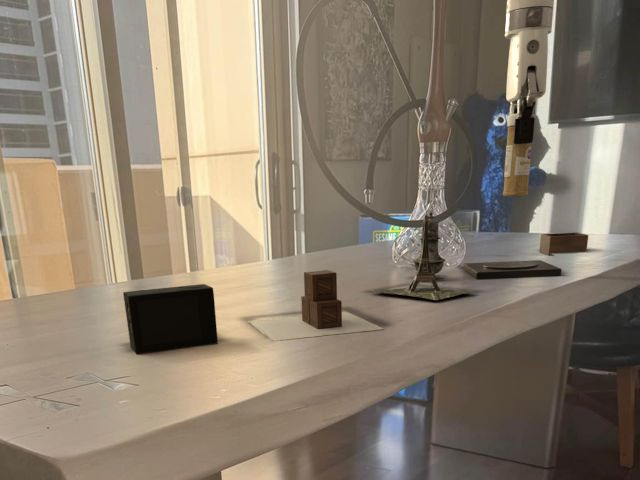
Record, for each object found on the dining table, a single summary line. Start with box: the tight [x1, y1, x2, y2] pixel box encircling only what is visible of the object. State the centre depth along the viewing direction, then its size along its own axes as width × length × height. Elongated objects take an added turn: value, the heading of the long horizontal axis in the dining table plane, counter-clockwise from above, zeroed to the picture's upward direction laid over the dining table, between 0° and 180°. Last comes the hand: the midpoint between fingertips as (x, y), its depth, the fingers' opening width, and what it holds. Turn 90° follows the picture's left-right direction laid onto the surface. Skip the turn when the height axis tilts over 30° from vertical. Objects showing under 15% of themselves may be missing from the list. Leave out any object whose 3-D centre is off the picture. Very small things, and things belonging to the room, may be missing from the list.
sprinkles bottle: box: [502, 114, 536, 197], centre depth 125 cm, size 5×5×14 cm
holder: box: [538, 232, 589, 256], centre depth 158 cm, size 8×8×4 cm
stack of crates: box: [247, 269, 385, 342], centre depth 93 cm, size 15×15×7 cm
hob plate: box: [463, 259, 562, 280], centre depth 133 cm, size 15×15×2 cm
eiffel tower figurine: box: [372, 206, 477, 301], centre depth 111 cm, size 15×10×13 cm
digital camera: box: [122, 283, 219, 355], centre depth 86 cm, size 10×5×7 cm, turn 110°
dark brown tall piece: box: [412, 211, 446, 283], centre depth 127 cm, size 6×6×12 cm
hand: (519, 143), depth 124 cm, fingers closed on sprinkles bottle, 4 cm apart
